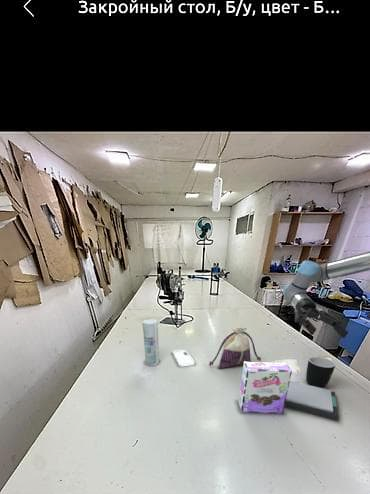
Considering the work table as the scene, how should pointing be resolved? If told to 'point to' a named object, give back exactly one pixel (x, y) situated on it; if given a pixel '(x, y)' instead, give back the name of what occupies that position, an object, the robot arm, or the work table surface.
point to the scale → (312, 400)
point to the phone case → (183, 358)
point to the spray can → (151, 341)
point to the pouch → (235, 349)
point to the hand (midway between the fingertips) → (329, 333)
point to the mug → (319, 371)
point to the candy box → (264, 387)
